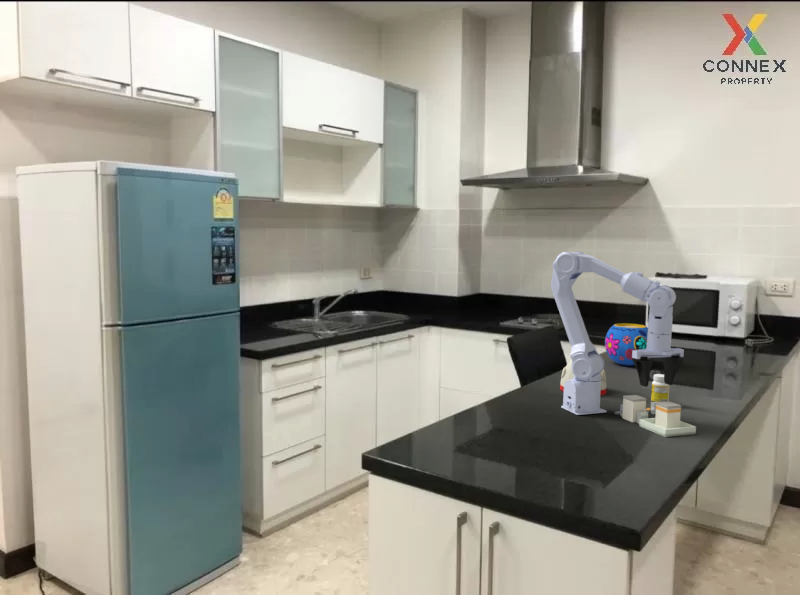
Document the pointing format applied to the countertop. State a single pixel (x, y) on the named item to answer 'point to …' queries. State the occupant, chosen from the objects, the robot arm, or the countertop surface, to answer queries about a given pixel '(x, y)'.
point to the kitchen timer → (569, 375)
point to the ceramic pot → (625, 342)
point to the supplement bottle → (659, 389)
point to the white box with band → (667, 415)
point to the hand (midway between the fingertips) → (656, 385)
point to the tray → (682, 430)
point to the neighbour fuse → (633, 407)
